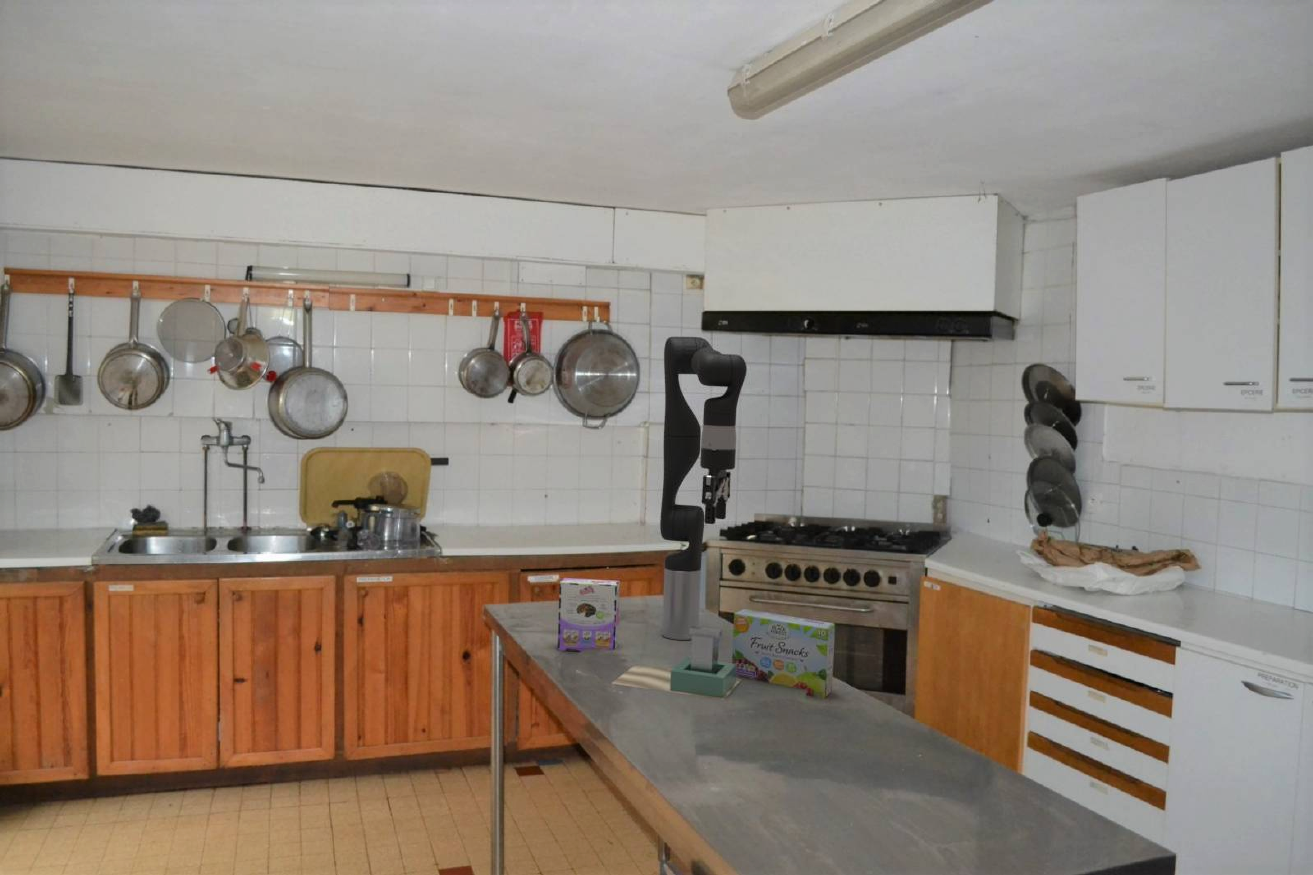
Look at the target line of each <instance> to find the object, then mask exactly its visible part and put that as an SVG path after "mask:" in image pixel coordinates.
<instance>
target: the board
mask: <svg viewBox="0 0 1313 875" xmlns="http://www.w3.org/2000/svg"><path fill="white" fill-rule="evenodd" d="M671 670H673V669H672V668H665V667H664V668H663V667H657V666H651V665H650V666H649V665H643V664H635V665H633V666H632V667H630V668H629V669H628V670H627V671H625V672H624V673H623V674H622V675H620V676H619V677H617V678H616V679H615V680H613V681H612V682H611V684H613V685H619V686H625V687H631V688H638V689H639V688H640V689H646V690H653V691H658V692H659V691H660V692H666V693H673V694H680V695H687V696H693V697H700V698H701V697H702V698H707V699H714V700H721V701H724V700H725V699H726V698H727V697H728V696H729V695H730V693H731V692H732V691H733V690H735V688H736V687H737V685H739V683H740V682H741V681H742V680H743V678H737V677H736V683H735V684H734V686H733V687H732V688H731V689H730V690H729V691H728V692H727V693H726V695H725V696H724V697H723V698H719V697H712V696H705V695H699V694H692V693H685V692H678V691H671V690H670V682H671Z"/></svg>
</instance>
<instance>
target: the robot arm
mask: <svg viewBox="0 0 1313 875" xmlns="http://www.w3.org/2000/svg"><path fill="white" fill-rule="evenodd" d="M663 364H664V365H663V366H664V367H663V369H664V370H663V371H664V374H663V375H664V395H665V396H664V400H665V401H664V402H665V403H664V422H663V424H664V425H663V426H664V427H663V481H662V482H663V483H662V485H663V486H662V496H661V505H660V506H661V507H660V518H659V519H660V522H659V523H660V524H659V525H660V526H659V530H660V534H661V538H662V539H663V540H665V541H669V542H670V541H671V542H672V541H673V542H684V543H685V542H686V543H688V546H687V548H685V549H684V550H682V551H679V552H674V553H671V554H669V555H667V556H666V557H665V559H664V570H663V571H664V573H663V574H664V575H663V576H664V577H663V600H662V601H663V602H662V621H661V626H662V627H661V635H662V637H664V638H666V639H670V640H678V641H682V640H683V641H686V640H689V641H690V640H692V635H694V634H689V629H690V627H692V626H696V627H700V625H699V623H700V601H701V579H702V578H701V577H702V576H701V574H702V573H701V572H702V556H703V555H702V554H703V539H704V532H705V531H704V530H705V524H707V525H714V524H716V519H717V520H725V519H726V517H727V503H728V502H729V501H728V500H729V499H730V498H731V475H732V473H731V470H734V469H735V467H736V453H737V452H736V451H737V430H736V428H737V427H736V426H737V424H736V423H737V407H738V402H739V399H740V394H741V391H742V388H743V385H744V382H745V379H746V376H747V370H748V369H747V363H746V360H745V359H744V358H743V357H742V356H741V355H740V354H733V353H732V354H728V353H721V351H718V350H716V349H714V348H713V346H711V343H709V341H708V340H707V339H705V338H704V337H699V336H670V337H668V338H666V341H665V343H664V349H663ZM679 375H696V376H697V378H698V381H699V383H700V384H701V385H703V386H708V387H721V388H722V387H724V388H726V390H725V392H724V393H723V394H722V395H720V396H716V397H715V396H714V397H710V398H707V399H706V400H705V401H704V405H703V416H702V417H703V420H702V428H701V424H700V423H699V420H698V418H697V417H696V415H695V413H694V411H693V410H692V408H691V407H690V405H689V403H688V402H687V400H686V398H685V396H684V393H683V391H682V389H681V384H680V377H679ZM701 429H702V430H701ZM699 457H700V463H699V464H700V468H702V469H707V470H708V473H707V475H705V474H703V476H702V490H701V491H702V492H701V504H703V505H704V506H705V507H704V508H703V507H702V506H700V505H694V504H693V505H692V504H691V505H690V504H676V499H677V494H678V492H679V490H680V487H681V485H682V484H683V481H684V480H685V478H686V477H687V476H688V474H689V472H691V470H692V468H693V467H694V466H695V465H696V462H697V461H698V459H699Z"/></svg>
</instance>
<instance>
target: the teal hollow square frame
mask: <svg viewBox="0 0 1313 875" xmlns="http://www.w3.org/2000/svg"><path fill="white" fill-rule="evenodd" d="M690 669H691V657H689V656H687V657H685V658H684V659H682V661H681V662H679V664H677V665H676V666H675V667H673V669H672V670H671V682H670V690H671V691H678V692H685V693H692V694H699V695H705V696H712V697H719V698H723V697H724V696H725V695H726V693H727V692H728V691H729V690H730V689H731V688H732V687H733V686H734V684H735V683H736V678H737V676H736V672H737V664H733V663H732V662H725V661H719V660H718V668H717V674H711V673H704V672H697V671H690Z"/></svg>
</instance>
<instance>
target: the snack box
mask: <svg viewBox="0 0 1313 875" xmlns="http://www.w3.org/2000/svg"><path fill="white" fill-rule="evenodd" d="M835 629H836V624H835V622H834V623H833V622H826V621H820V620H817V619H815V620H814V619H811V618H810V619H809V618H802V617H796V616H791V615H784V614H778V613H774V612H773V613H772V612H765V611H759V610H753V609H746V608H742V609H740V610H738V611H736V612H734V613H733V630H732V632H733V634H732V636H733V637H732V658H731V663H733V664H737V672H736V677H738V678H739V677H740V678H742V679H743V678H744V679H748V680H754V681H759V682H764V683H768V684H769V683H770V684H775V685H779V686H780V685H781V686H785V687H791V688H794V689H795V688H796V689H800V690H807V692H806V694H805V696H808V697H813V698H819V699H823V700H824V699H826V698H827V697H828V696H829V695H830V694H831V693H832V692H833V675H834V674H833V672H834V658H835V657H834V655H835V653H834V651H835V649H834V648H835V635H836V634H835V632H836V630H835Z"/></svg>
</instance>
